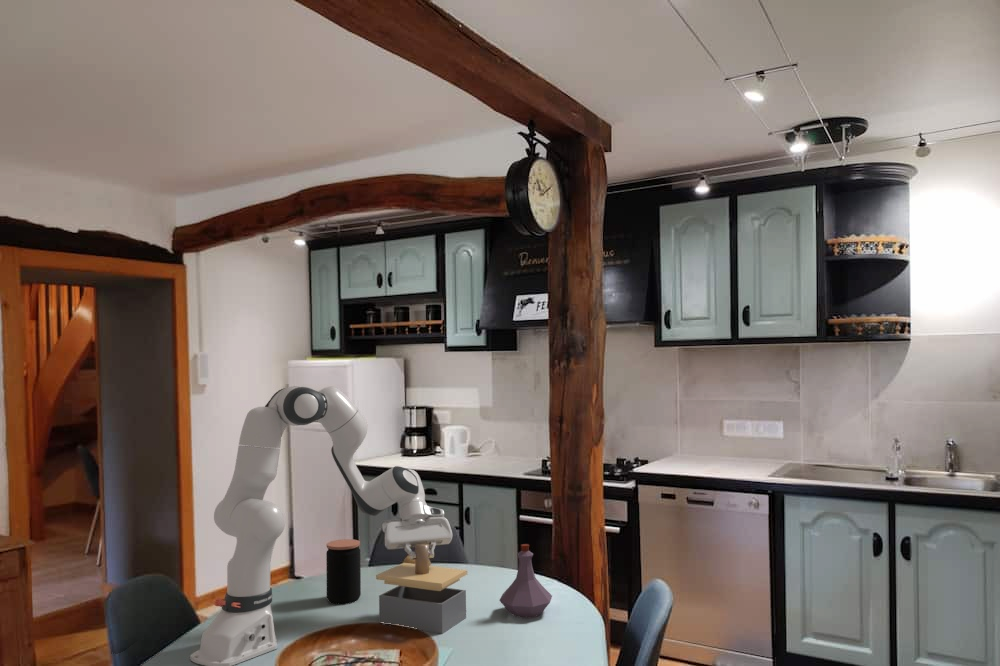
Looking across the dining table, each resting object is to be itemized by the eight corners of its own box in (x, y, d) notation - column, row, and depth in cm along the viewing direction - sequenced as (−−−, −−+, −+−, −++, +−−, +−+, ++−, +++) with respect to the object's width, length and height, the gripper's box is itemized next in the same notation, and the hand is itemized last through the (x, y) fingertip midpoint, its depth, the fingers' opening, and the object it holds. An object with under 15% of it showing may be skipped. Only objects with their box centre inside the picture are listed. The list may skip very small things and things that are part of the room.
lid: (442, 593, 200) (441, 554, 200) (376, 584, 209) (376, 547, 210) (467, 579, 213) (467, 542, 214) (404, 571, 223) (404, 536, 223)
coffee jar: (364, 594, 236) (364, 539, 237) (355, 605, 226) (354, 547, 227) (333, 594, 238) (332, 538, 238) (321, 604, 227) (321, 546, 228)
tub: (442, 633, 200) (442, 604, 200) (379, 623, 209) (379, 595, 209) (466, 617, 213) (465, 590, 213) (405, 608, 222) (405, 582, 222)
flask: (560, 619, 210) (559, 549, 211) (505, 624, 207) (504, 553, 208) (545, 601, 226) (543, 537, 227) (493, 606, 223) (492, 540, 224)
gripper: (382, 514, 215) (388, 555, 206) (448, 509, 222) (457, 548, 212) (379, 526, 219) (385, 567, 210) (444, 521, 226) (453, 560, 216)
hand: (422, 557), depth 211 cm, fingers closed on lid, 4 cm apart
